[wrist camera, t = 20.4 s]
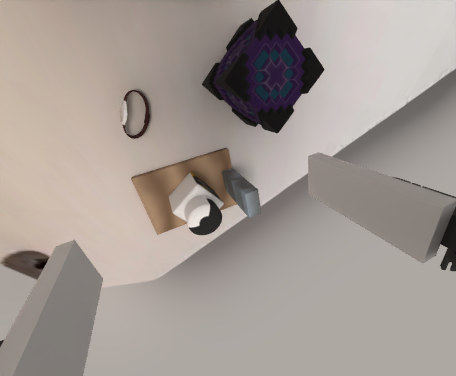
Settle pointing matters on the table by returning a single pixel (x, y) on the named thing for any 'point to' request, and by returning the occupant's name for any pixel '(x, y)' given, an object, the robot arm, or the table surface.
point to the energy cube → (264, 70)
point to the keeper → (206, 171)
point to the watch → (124, 114)
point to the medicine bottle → (197, 205)
